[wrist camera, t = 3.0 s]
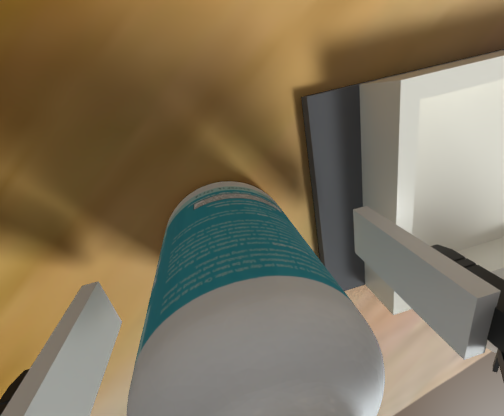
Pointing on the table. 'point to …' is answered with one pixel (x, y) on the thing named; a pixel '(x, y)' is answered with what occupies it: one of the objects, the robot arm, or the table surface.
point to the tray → (437, 160)
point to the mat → (337, 176)
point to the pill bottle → (249, 319)
